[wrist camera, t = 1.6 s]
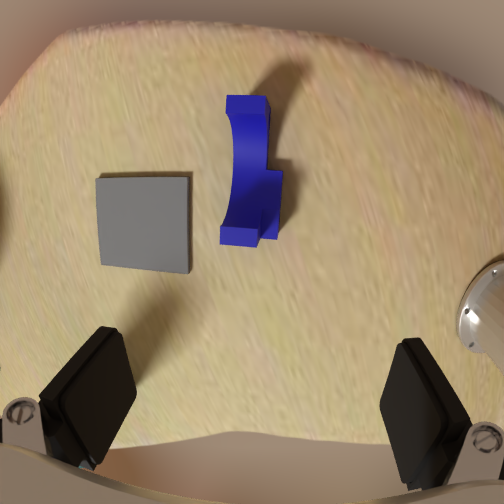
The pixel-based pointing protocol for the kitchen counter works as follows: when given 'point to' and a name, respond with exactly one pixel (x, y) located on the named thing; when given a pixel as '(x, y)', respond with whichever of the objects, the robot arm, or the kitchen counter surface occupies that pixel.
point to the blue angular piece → (251, 175)
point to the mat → (144, 223)
